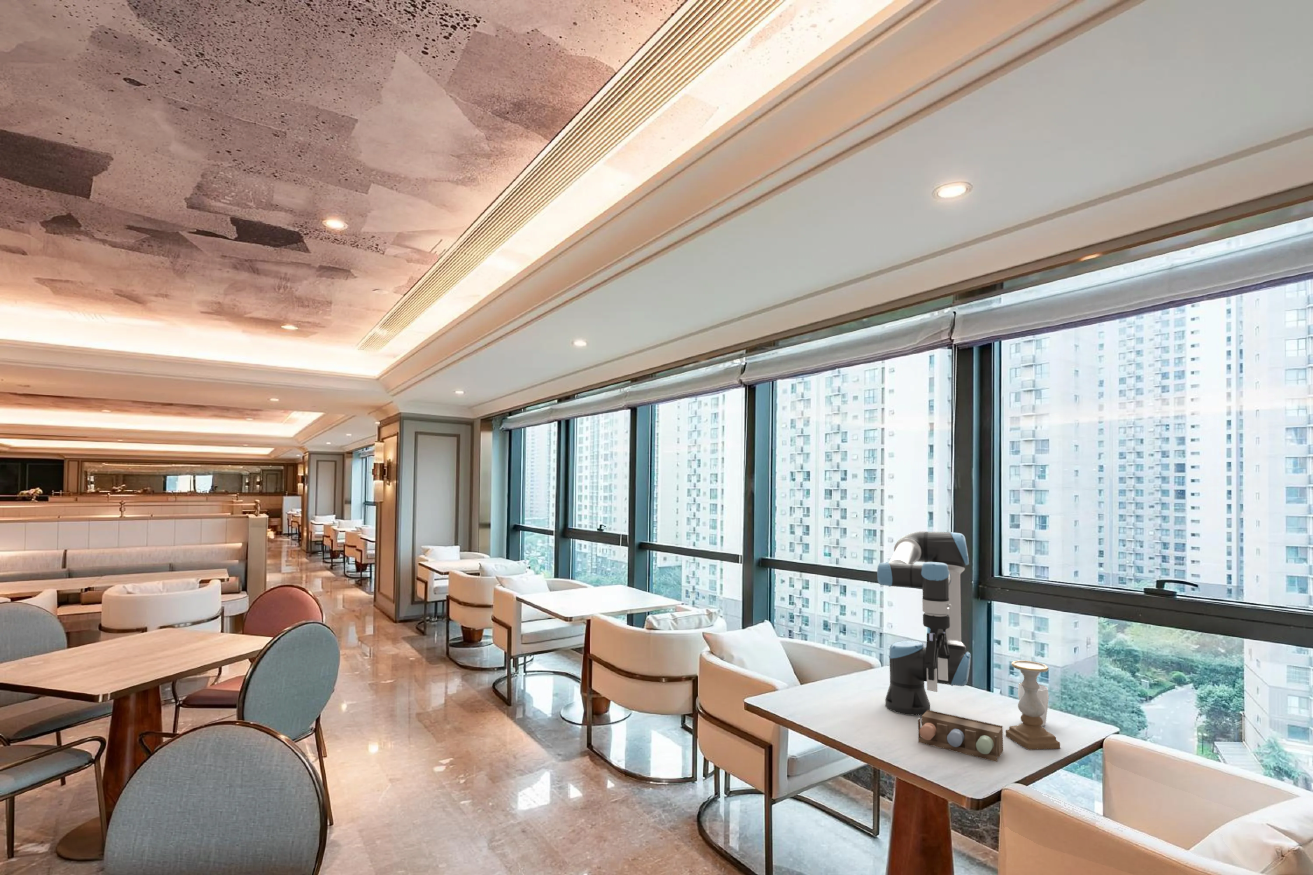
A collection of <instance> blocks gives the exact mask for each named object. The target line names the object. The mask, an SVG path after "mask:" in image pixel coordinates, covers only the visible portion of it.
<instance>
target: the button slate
mask: <svg viewBox="0 0 1313 875" xmlns="http://www.w3.org/2000/svg"><path fill="white" fill-rule="evenodd" d="M947 741H948V743H949V744H950V745H951V746H953V747H958V746H960V745H961V743H962V742H963V741H964V734H963V733H962V731H960V730H959V729H953V730H952V731H951V732H950V733H949V734H948V736H947Z"/></svg>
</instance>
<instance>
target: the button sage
mask: <svg viewBox="0 0 1313 875" xmlns="http://www.w3.org/2000/svg"><path fill="white" fill-rule="evenodd" d="M993 746H994V743H993V740H992V739H991V738H990V737H988V736H985V735H983V736H981V737H980V738H979V739H978V741H977V742H976V748H977V750H978V751H979V752H980V753H982V754H988V753H990V751H991V750H992V748H993Z"/></svg>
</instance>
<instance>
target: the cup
mask: <svg viewBox="0 0 1313 875" xmlns="http://www.w3.org/2000/svg"><path fill="white" fill-rule="evenodd" d="M1021 683H1022V682H1020V683H1018V685H1017V687H1018V688H1017V695H1018V700H1019V701H1020V699H1021V698H1022V697H1023V695H1024V693H1025V691H1024V688H1023V686H1022V685H1021ZM1038 684H1039V683H1038ZM1039 686H1040V688H1039V689H1038V691H1037V696H1038V698H1039V699H1040V701H1041V702H1042V704H1043V706H1044V709H1045V712H1044V714H1043V715H1041V716H1040V717H1041V718H1042V720H1043V724H1042V725H1041V726H1042V727H1043V726H1046V723H1047V714H1048V710H1049V709H1048V708H1049V699H1050V697H1049V689H1048V688H1049V687H1047V686H1045V685H1043V684H1039ZM1019 701H1018V702H1019ZM1022 714H1023V713H1022V712H1021V715H1022Z"/></svg>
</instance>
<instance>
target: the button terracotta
mask: <svg viewBox="0 0 1313 875" xmlns="http://www.w3.org/2000/svg"><path fill="white" fill-rule="evenodd" d="M919 732H920V735H921V737H922V738H923V739H925V740H931V739H932V738H933V737H934V735H935V734H936V732H937V730H936V727H935V726H934V725H933V724H932V723H925V724H924V725H923V726H922V725H921V726H920V731H919Z"/></svg>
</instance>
